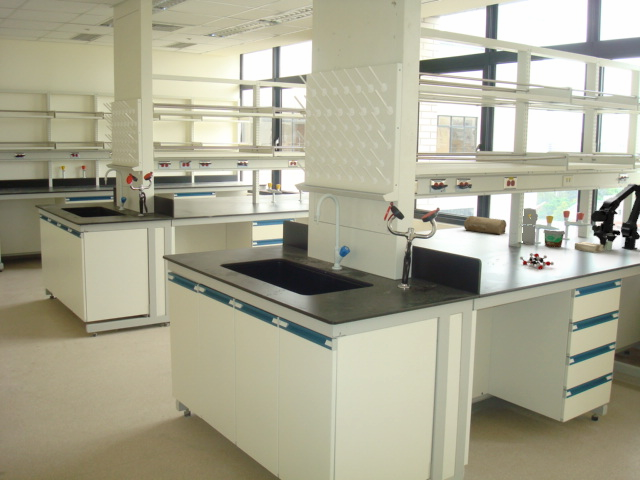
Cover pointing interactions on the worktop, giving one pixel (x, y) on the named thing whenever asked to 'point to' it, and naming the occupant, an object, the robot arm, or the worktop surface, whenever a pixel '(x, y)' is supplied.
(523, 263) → the molecular model
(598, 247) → the birch block
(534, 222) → the grey tall slab
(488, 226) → the core sample
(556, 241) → the food container
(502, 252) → the worktop surface
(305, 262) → the worktop surface
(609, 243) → the sage cube
